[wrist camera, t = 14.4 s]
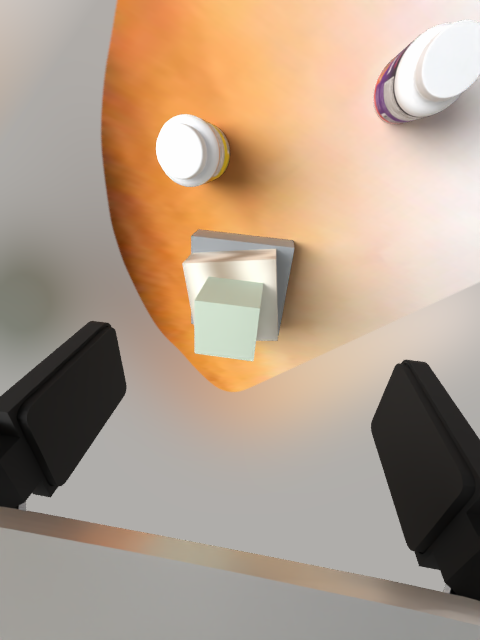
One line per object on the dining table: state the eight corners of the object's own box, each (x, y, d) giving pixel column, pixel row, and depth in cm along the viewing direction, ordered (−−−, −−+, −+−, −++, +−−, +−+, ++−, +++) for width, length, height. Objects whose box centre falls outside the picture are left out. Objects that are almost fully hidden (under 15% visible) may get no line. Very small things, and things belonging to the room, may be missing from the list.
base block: (293, 239, 36) (294, 247, 32) (278, 320, 42) (278, 335, 38) (199, 228, 37) (191, 235, 33) (198, 310, 43) (191, 323, 39)
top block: (276, 248, 33) (275, 259, 29) (277, 323, 37) (277, 340, 34) (192, 252, 34) (182, 263, 31) (204, 324, 39) (197, 340, 35)
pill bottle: (423, 37, 25) (495, -23, 17) (439, 101, 27) (510, 76, 19) (362, 80, 27) (400, 45, 19) (381, 136, 29) (423, 128, 21)
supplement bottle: (176, 167, 33) (138, 170, 24) (192, 113, 30) (155, 94, 21) (220, 189, 33) (198, 201, 25) (239, 138, 31) (223, 131, 22)
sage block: (263, 282, 31) (260, 308, 25) (257, 329, 34) (253, 361, 28) (208, 276, 31) (194, 300, 26) (207, 323, 34) (194, 353, 29)
